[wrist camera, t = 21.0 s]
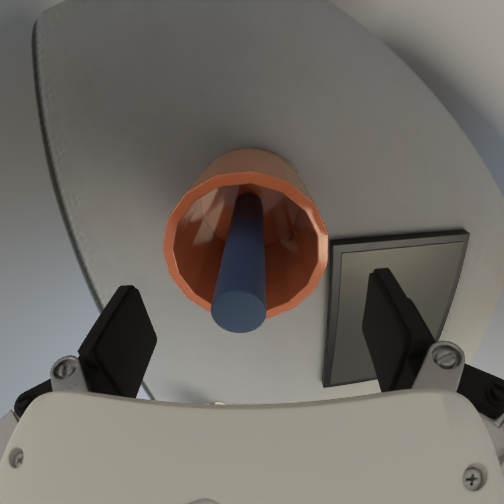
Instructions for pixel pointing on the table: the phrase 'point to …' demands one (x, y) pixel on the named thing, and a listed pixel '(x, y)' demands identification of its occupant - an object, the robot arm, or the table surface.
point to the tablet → (409, 278)
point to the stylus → (242, 270)
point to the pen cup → (275, 229)
